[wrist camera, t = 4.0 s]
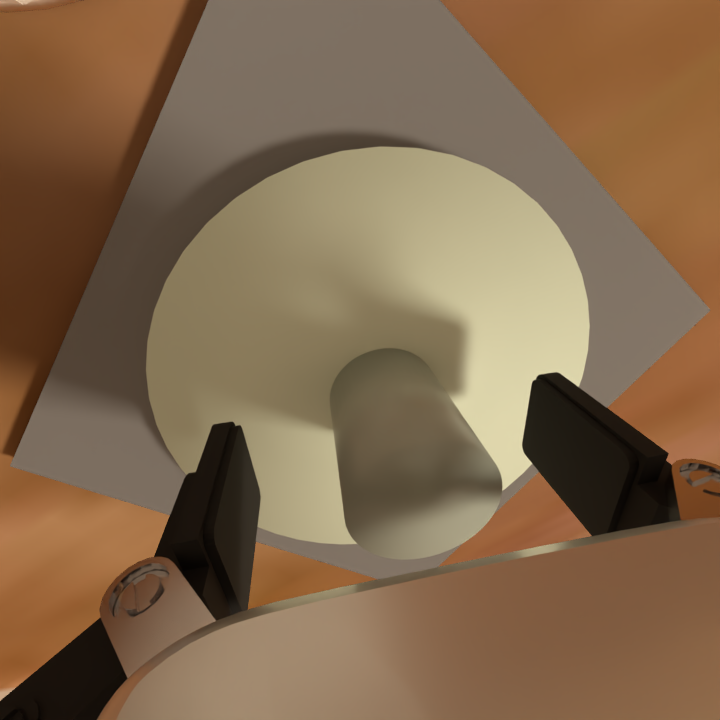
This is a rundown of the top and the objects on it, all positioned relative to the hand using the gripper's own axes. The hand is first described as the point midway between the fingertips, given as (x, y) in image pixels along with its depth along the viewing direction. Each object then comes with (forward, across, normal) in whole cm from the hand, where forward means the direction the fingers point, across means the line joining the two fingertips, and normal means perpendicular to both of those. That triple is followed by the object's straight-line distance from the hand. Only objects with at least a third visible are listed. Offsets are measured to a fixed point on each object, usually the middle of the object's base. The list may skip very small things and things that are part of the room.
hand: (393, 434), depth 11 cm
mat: (+4, 0, 0) cm, 4 cm away
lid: (+3, 0, 0) cm, 3 cm away
